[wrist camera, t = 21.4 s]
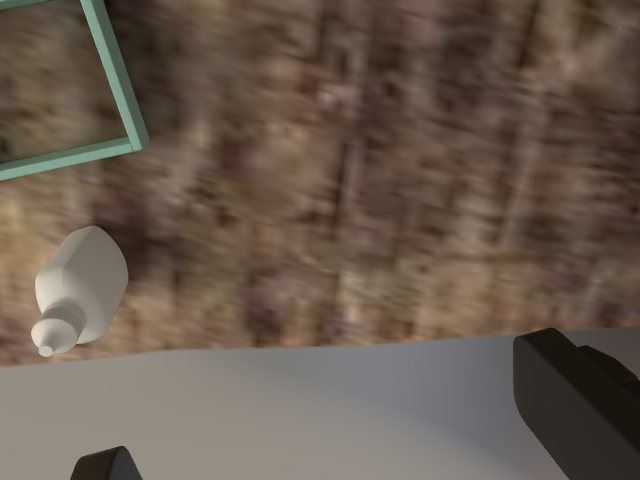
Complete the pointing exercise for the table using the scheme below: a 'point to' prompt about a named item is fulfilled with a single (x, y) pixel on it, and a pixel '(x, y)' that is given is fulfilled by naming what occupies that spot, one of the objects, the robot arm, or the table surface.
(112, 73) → the green rectangular frame
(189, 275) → the table surface
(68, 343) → the eye dropper bottle
